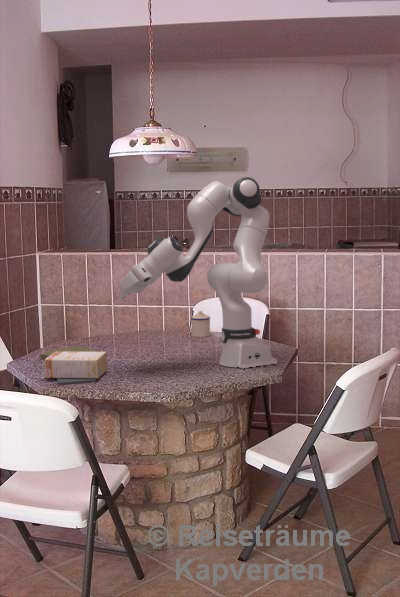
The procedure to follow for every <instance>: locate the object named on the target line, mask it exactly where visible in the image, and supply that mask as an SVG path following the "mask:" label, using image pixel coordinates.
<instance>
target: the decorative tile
mask: <svg viewBox="0 0 400 597" xmlns="http://www.w3.org/2000/svg"><path fill="white" fill-rule="evenodd" d="M56 351H59V352H102V350H92V349H91V348H88V347H87V346H79V345H77V346H75V345H72V346H66V347H58V348H55V349H51V350H46V351H45V352H40V356H39V357H40V358H41V359H40V360H44V359H46V358H47V357H49V356H50V355H52V354H53V353H55V352H56Z"/></svg>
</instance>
